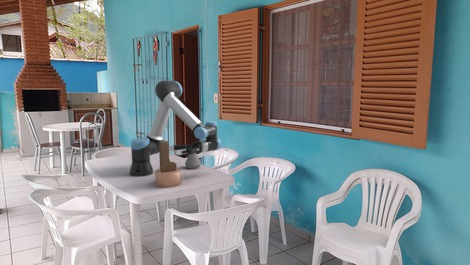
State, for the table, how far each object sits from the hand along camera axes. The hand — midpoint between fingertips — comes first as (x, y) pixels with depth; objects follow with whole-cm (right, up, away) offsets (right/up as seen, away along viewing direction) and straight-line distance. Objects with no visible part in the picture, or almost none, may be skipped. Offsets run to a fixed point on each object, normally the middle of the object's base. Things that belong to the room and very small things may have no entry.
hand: (170, 151), depth 202 cm
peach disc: (-2, -20, +2) cm, 20 cm away
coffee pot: (+6, -14, +46) cm, 48 cm away
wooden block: (-1, -12, 0) cm, 12 cm away
